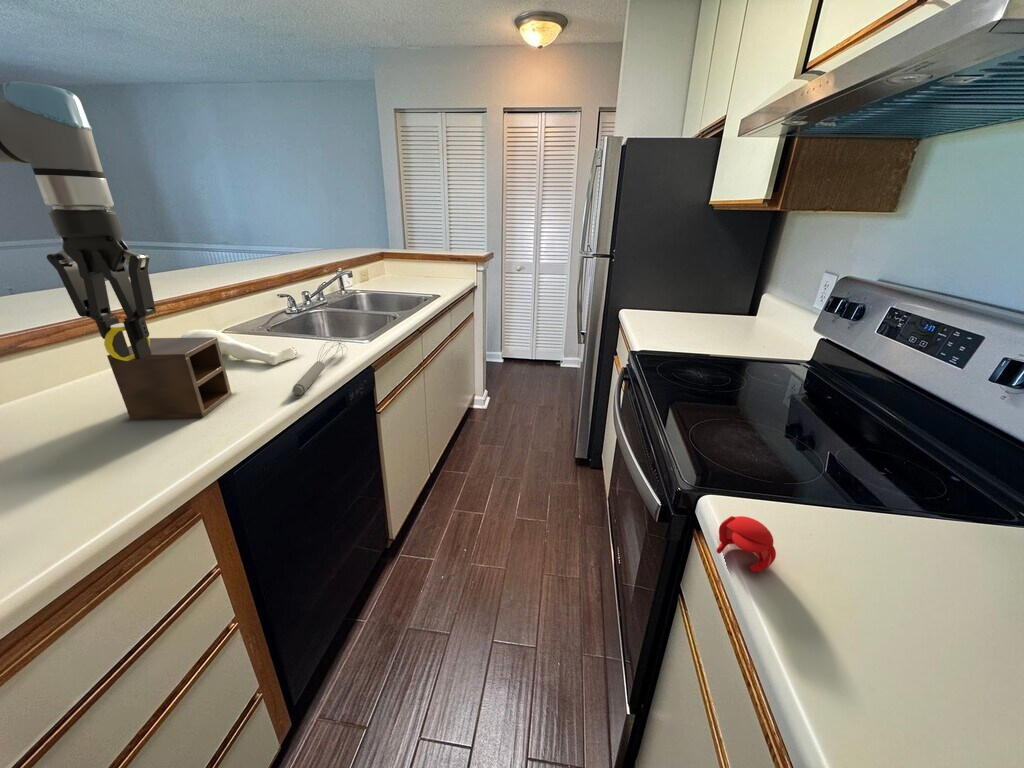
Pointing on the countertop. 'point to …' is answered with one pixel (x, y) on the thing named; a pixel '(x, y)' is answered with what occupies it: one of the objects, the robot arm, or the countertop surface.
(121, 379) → the shelf
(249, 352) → the leg
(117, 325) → the watch
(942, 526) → the countertop surface
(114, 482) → the countertop surface
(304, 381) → the kitchen whisk
